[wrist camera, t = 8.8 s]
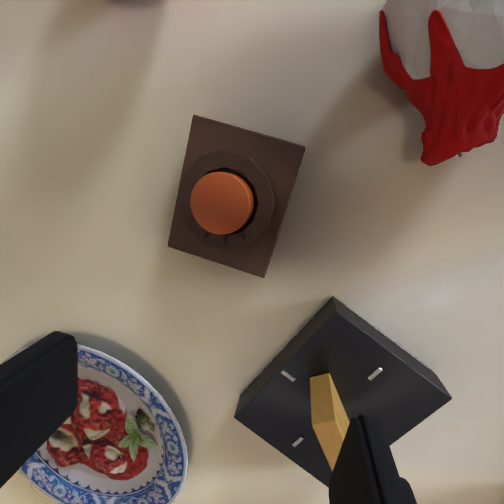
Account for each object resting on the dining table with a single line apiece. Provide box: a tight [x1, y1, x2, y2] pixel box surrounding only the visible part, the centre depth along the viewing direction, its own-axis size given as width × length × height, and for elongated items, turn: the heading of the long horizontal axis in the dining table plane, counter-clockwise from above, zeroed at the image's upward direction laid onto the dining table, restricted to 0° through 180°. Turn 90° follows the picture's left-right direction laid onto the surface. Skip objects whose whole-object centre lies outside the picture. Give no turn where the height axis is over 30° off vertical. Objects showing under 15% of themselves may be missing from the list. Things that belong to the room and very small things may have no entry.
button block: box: [168, 115, 305, 278], centre depth 23 cm, size 11×9×4 cm
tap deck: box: [234, 297, 452, 487], centre depth 26 cm, size 15×12×3 cm
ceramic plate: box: [3, 345, 188, 504], centre depth 33 cm, size 26×26×3 cm
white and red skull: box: [379, 0, 504, 166], centre depth 16 cm, size 9×11×15 cm
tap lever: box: [310, 373, 350, 472], centre depth 22 cm, size 8×2×5 cm, turn 23°
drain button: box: [190, 172, 254, 235], centre depth 20 cm, size 4×4×2 cm
